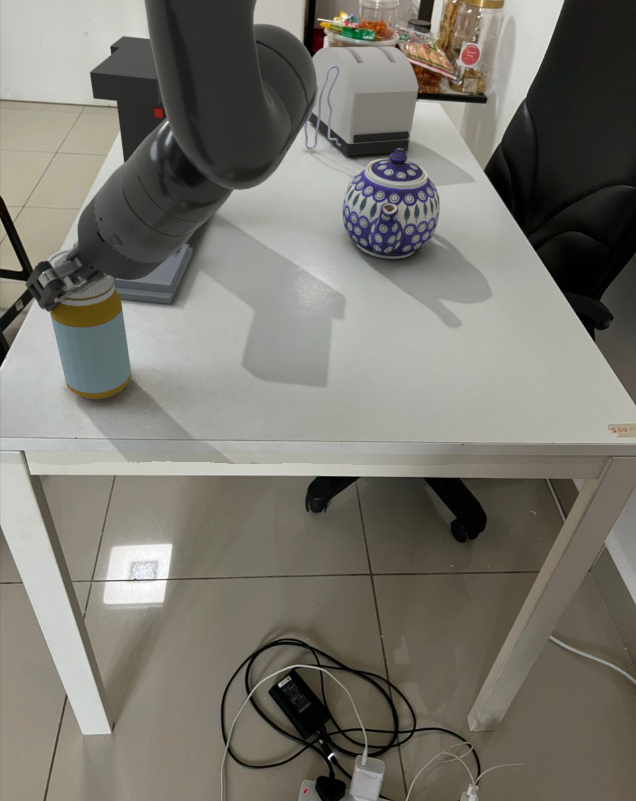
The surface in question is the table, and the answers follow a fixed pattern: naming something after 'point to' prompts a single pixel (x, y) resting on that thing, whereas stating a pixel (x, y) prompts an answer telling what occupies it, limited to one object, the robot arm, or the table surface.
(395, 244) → the teapot
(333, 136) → the toaster
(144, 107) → the coffee maker
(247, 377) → the table surface
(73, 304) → the bottle
